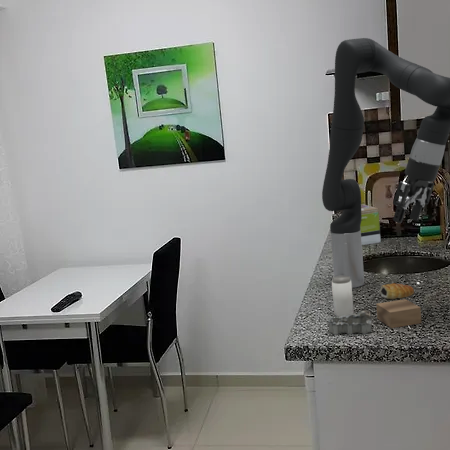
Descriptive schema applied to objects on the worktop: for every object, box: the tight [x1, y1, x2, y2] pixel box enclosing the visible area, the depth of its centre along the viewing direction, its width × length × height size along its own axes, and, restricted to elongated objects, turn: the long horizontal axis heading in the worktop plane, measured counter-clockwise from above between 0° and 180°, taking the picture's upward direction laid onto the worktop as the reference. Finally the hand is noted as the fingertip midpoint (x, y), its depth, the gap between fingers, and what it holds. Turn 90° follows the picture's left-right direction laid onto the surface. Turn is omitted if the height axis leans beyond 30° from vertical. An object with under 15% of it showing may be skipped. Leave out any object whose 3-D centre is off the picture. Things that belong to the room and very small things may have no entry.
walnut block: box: [376, 298, 422, 329], centre depth 148 cm, size 8×8×4 cm
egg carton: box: [327, 310, 373, 335], centre depth 146 cm, size 11×8×4 cm
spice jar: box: [331, 275, 355, 317], centre depth 158 cm, size 5×5×10 cm
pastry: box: [379, 282, 415, 300], centre depth 169 cm, size 9×7×4 cm
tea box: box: [360, 203, 382, 246], centre depth 248 cm, size 15×10×15 cm, turn 10°
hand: (405, 220), depth 150 cm, fingers open, 8 cm apart
